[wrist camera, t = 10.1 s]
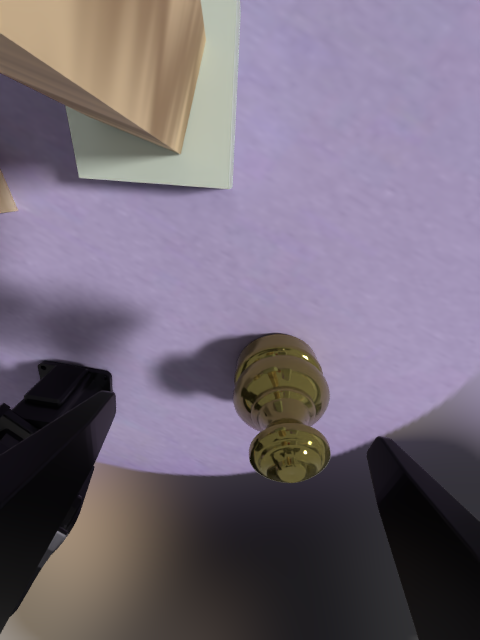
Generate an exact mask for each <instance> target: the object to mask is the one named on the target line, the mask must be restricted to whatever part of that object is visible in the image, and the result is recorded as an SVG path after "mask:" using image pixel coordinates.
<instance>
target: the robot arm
mask: <svg viewBox="0 0 480 640" xmlns="http://www.w3.org/2000/svg"><path fill="white" fill-rule="evenodd" d="M38 370H39V375H40V379H41V380H40V381H39V382H38V383H37V384H36V385H35V386H34V387H33V388H32V389H31V390H29V391H28V392H27V393H26V394H25V395H24V399H23V400H22V401H21V402H20V403H18V404H17V405H16V406H15V407H14V408H13V409H12V410H11V409H9V408H10V407H9V406H8V405H6V404H5V403H3V404H1V405H0V633H1V632H2V630H3V628H4V626H5V624H6V622H7V621H8V619H9V617H10V616H11V615H12V614H14V612H15V611H16V610H17V609H18V607H19V606H20V604H21V602H22V601H23V599H24V597H25V595H26V594H27V592H28V590H29V589H30V587H31V585H32V583H33V581H34V580H35V578H36V577H37V575H38V573H39V572H40V570H41V568H42V567H43V565H44V564H45V563H46V561H47V560H48V558H49V557H50V555H51V554H52V553H53V552H54V551H55V550H56V549H57V548H58V547H59V546H60V545H61V544H62V542H63V541H64V540H65V538H66V537H67V536H68V534H69V533H70V531H71V529H72V528H73V526H74V524H75V522H76V520H77V518H78V516H79V513H80V511H81V508H82V504H83V501H84V498H85V495H86V492H87V489H88V486H89V483H90V479H91V476H92V474H93V470H94V466H93V465H94V463H95V461H96V459H97V457H98V454H99V452H100V450H101V447H102V445H103V443H104V440H105V438H106V436H107V433H108V431H109V429H110V426H111V424H112V422H113V419H114V417H115V413H116V396H115V393H114V392H113V391H112V375H111V374H110V373H109V372H107V371H102V370H96V369H90V368H84V367H78V366H72V365H67V364H61V363H55V362H49V361H42V362H41V363H40V364H39V365H38ZM367 460H368V464H369V470H370V474H371V479H372V483H373V488H374V493H375V498H376V502H377V505H378V509H379V513H380V516H381V519H382V522H383V526H384V529H385V532H386V535H387V538H388V542H389V545H390V548H391V552H392V555H393V558H394V561H395V564H396V567H397V571H398V574H399V577H400V581H401V584H402V587H403V590H404V593H405V597H406V600H407V603H408V606H409V610H410V613H411V616H412V619H413V622H414V626H415V629H416V632H417V635H418V639H419V640H480V521H478V520H477V519H476V518H475V517H474V516H473V515H472V514H471V513H470V512H469V511H468V510H467V509H466V508H464V506H462V505H461V504H460V503H459V502H458V501H457V500H456V499H455V498H454V497H453V496H452V495H451V494H450V493H449V492H447V491H446V490H445V489H444V488H443V487H442V486H441V485H440V484H439V483H438V482H437V481H436V480H435V479H434V478H433V477H431V476H430V475H429V474H428V473H427V472H426V471H425V470H424V469H423V468H422V467H421V466H420V465H419V464H418V463H417V462H415V461H414V460H413V459H412V458H411V457H410V456H409V455H408V454H407V453H406V452H405V451H404V450H403V449H401V448H400V447H399V446H398V445H397V444H396V443H395V442H394V441H393V440H392V439H390V438H387V437H381V436H378V437H377V438H376V439H375V440H374V442H373V443H372V445H371V446H370V448H369V449H368V451H367Z"/></svg>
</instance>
